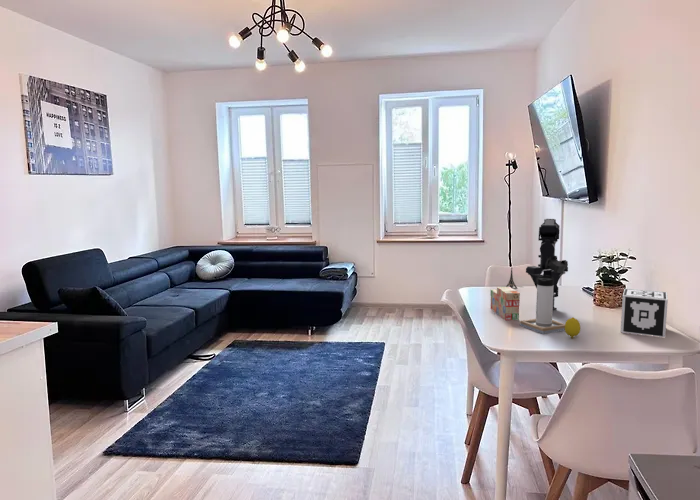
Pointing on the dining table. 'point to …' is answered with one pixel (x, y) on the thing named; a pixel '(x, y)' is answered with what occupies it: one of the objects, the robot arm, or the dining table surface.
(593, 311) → the dining table surface
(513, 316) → the stack of blocks
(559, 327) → the square wooden frame
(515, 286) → the eiffel tower figurine
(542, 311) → the travel mug
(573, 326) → the lemon
